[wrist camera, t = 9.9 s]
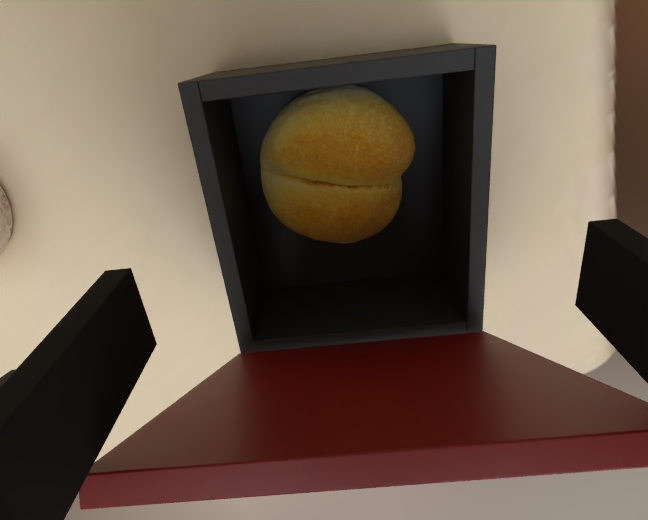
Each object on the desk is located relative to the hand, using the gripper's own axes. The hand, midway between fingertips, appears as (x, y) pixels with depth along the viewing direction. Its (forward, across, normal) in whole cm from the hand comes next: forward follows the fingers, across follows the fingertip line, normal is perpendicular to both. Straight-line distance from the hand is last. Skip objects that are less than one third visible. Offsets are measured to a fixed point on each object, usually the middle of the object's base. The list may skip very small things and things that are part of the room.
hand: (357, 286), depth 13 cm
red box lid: (+2, 0, -5) cm, 6 cm away
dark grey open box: (+16, 0, -2) cm, 17 cm away
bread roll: (+15, 0, 0) cm, 15 cm away
